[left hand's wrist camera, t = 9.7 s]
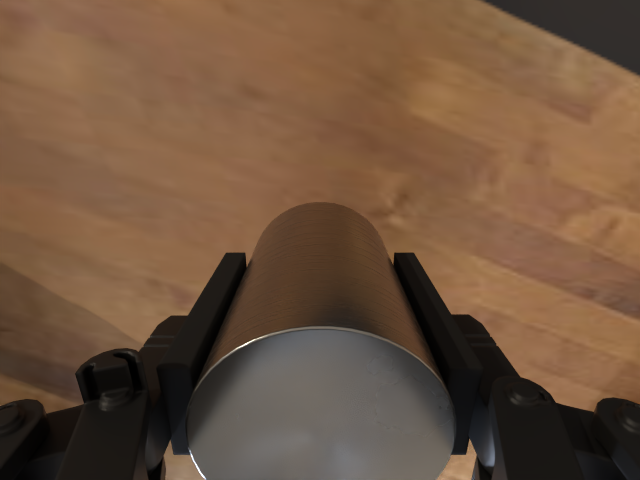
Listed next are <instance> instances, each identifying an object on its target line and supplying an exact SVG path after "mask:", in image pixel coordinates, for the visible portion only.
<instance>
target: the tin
mask: <svg viewBox="0 0 640 480" xmlns="http://www.w3.org/2000/svg"><path fill="white" fill-rule="evenodd" d="M185 434H186V440H187V445H188V449H189V452H190V454H191V457H192V460H193V462H194V463H195V465H196V467H197V469H198V470H199V472H200V473H201V475H202V476H203V477H204V478H205V480H436V479H437V478H438V476H439V475H440V474H441V473H442V471H443V469H444V468H445V466H446V464H447V462H448V461H449V458H450V456H451V453H452V450H453V447H454V442H455V437H456V415H455V410H454V405H453V402H452V400H451V397H450V394H449V392H448V389H447V387H446V385H445V383H444V380H443V378H442V376H441V373H440V371H439V369H438V367H437V364H436V362H435V360H434V357H433V355H432V353H431V351H430V348H429V346H428V344H427V341H426V339H425V337H424V335H423V332H422V330H421V328H420V326H419V323H418V321H417V319H416V316H415V314H414V312H413V310H412V307H411V305H410V303H409V300H408V298H407V296H406V294H405V291H404V289H403V287H402V285H401V282H400V280H399V278H398V275H397V273H396V271H395V269H394V266H393V264H392V262H391V259H390V257H389V255H388V253H387V250H386V248H385V246H384V243H383V241H382V239H381V237H380V235H379V234H378V232H377V230H376V229H375V228H374V226H373V225H372V224H371V223H370V222H369V221H368V220H367V219H366V218H364V217H363V216H362V215H360V214H359V213H357V212H356V211H354V210H352V209H350V208H347V207H345V206H342V205H338V204H334V203H326V202H314V203H307V204H303V205H299V206H296V207H294V208H291V209H289V210H287V211H285V212H283V213H282V214H280V215H279V216H278V217H276V218H275V219H274V220H273V221H272V222H271V223H270V224H269V225H268V226H267V227H266V229H265V230H264V231H263V233H262V235H261V237H260V239H259V241H258V243H257V245H256V248H255V250H254V252H253V254H252V257H251V259H250V261H249V264H248V266H247V268H246V271H245V273H244V275H243V278H242V280H241V282H240V284H239V287H238V289H237V291H236V294H235V296H234V298H233V301H232V303H231V305H230V308H229V310H228V312H227V314H226V317H225V319H224V321H223V324H222V326H221V328H220V331H219V333H218V335H217V338H216V340H215V342H214V344H213V347H212V349H211V351H210V354H209V356H208V358H207V361H206V363H205V365H204V368H203V370H202V372H201V374H200V377H199V379H198V381H197V384H196V386H195V388H194V391H193V393H192V396H191V398H190V401H189V404H188V407H187V413H186V418H185Z"/></svg>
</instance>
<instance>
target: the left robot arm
mask: <svg viewBox="0 0 640 480" xmlns="http://www.w3.org/2000/svg"><path fill="white" fill-rule="evenodd" d="M393 266H394V269H395V271H396V273H397V275H398V278H399V280H400V282H401V285H402V287H403V289H404V291H405V294H406V296H407V298H408V300H409V303H410V305H411V307H412V310H413V312H414V314H415V316H416V319H417V321H418V323H419V326H420V328H421V330H422V332H423V335H424V337H425V339H426V341H427V344H428V346H429V348H430V351H431V353H432V355H433V357H434V360H435V362H436V364H437V367H438V369H439V371H440V373H441V376H442V378H443V380H444V383H445V385H446V387H447V389H448V392H449V394H450V397H451V400H452V402H453V405H454V410H455V415H456V437H455V442H454V447H453V450H452V453H451V455H466V452H467V447H468V443H469V438H470V440H471V442H472V445H473V447H474V449H475V451H476V454H477V456H476V461H475V465H474V470H473V475H472V479H471V480H640V405H639V404H637V403H634V402H631V401H629V400H625V399H619V398H605V399H602V400H601V401H600V402H598V403H597V406H596V408H595V411H594V412H591V411H587V410H582V409H578V408H574V407H570V406H565V405H562V404H559V403H556V402H555V401H554V399H553V397H552V396H551V394H550V393H548V392H547V391H546V390H545V389H544V388H543V387H541V386H540V385H538V384H536V383H534V382H532V381H530V380H528V379H524V378H521V377H520V376H519V375H518V373H517V372H516V370H515V369H514V368H513V366H512V365H511V363H510V362H509V361H508V359H507V358H506V357H505V355H504V354H503V352H502V351H501V350H500V348H499V347H498V346H496V343H495V341H494V340H493V338H492V337H490V334H489V333H488V332H487V330H486V329H485V327H484V326H483V325H482V324H481V323H480V322H479V321H477V320H476V319H474V318H473V317H472V316H470V315H451V313H450V312H449V310H448V308H447V307H446V305H445V303H444V302H443V300H442V299H441V297H440V295H439V294H438V292H437V290H436V289H435V287H434V285H433V284H432V282H431V280H430V279H429V277H428V276H427V274H426V272H425V271H424V269H423V267H422V266H421V264H420V262H419V261H418V259H417V257H416V256H415V254H414V253H394V264H393ZM246 268H247V267H246V255H245V253H226V254H225V255H224V257H223V259H222V260H221V262H220V264H219V265H218V267H217V269H216V270H215V272H214V273H213V275H212V277H211V278H210V280H209V282H208V283H207V285H206V287H205V288H204V290H203V292H202V293H201V295H200V297H199V298H198V300H197V301H196V303H195V305H194V306H193V308H192V310H191V311H190V313H189V315H188V316H170V317H169V318H167V319H166V320H164V321H163V322H162V323H160V324H159V325H158V326H157V327H156V328H155V330H154V331H153V333H152V334H151V335H150V338H148V340H147V341H146V342H145V344H144V347H142V348H141V349H140V351H139V352H137V351H136V350H132V349H128V348H123V349H114V350H110V351H106V352H103V353H101V354H99V355H97V356H94V357H92V358H91V359H89V360H88V361H87V362H85V363H84V364H83V365H81V366H80V368H79V369H78V371H77V372H76V373H75V375H76V378H77V381H78V385H79V388H80V391H81V394H82V398H83V401H84V404H83V405H80V406H76V407H73V408H68V409H64V410H60V411H55V412H51V413H47V414H46V412H45V409H44V407H43V405H42V404H41V403H40V402H39V401H37V400H30V399H25V400H19V401H13V402H11V403H8V404H5V405H2V406H0V480H165V474H166V467H165V461H164V456H163V455H164V453H165V450H166V448H167V446H168V444H169V441H170V439H171V444H172V449H173V454H174V455H191V454H190V452H189V449H188V445H187V440H186V434H185V418H186V413H187V407H188V404H189V401H190V398H191V396H192V393H193V391H194V388H195V386H196V384H197V381H198V379H199V377H200V374H201V372H202V370H203V368H204V365H205V363H206V361H207V358H208V356H209V354H210V351H211V349H212V347H213V344H214V342H215V340H216V338H217V335H218V333H219V331H220V328H221V326H222V324H223V321H224V319H225V317H226V314H227V312H228V310H229V308H230V305H231V303H232V301H233V298H234V296H235V294H236V291H237V289H238V287H239V284H240V282H241V280H242V278H243V275H244V273H245V271H246Z"/></svg>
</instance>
